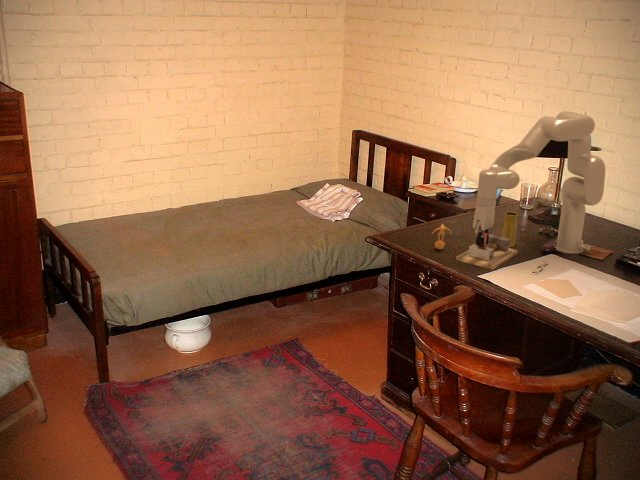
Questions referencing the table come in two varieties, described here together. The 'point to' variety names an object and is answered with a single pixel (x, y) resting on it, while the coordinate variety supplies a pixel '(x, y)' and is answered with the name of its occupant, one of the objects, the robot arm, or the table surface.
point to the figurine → (440, 243)
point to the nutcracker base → (499, 257)
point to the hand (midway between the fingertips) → (482, 244)
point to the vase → (510, 227)
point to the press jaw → (481, 250)
